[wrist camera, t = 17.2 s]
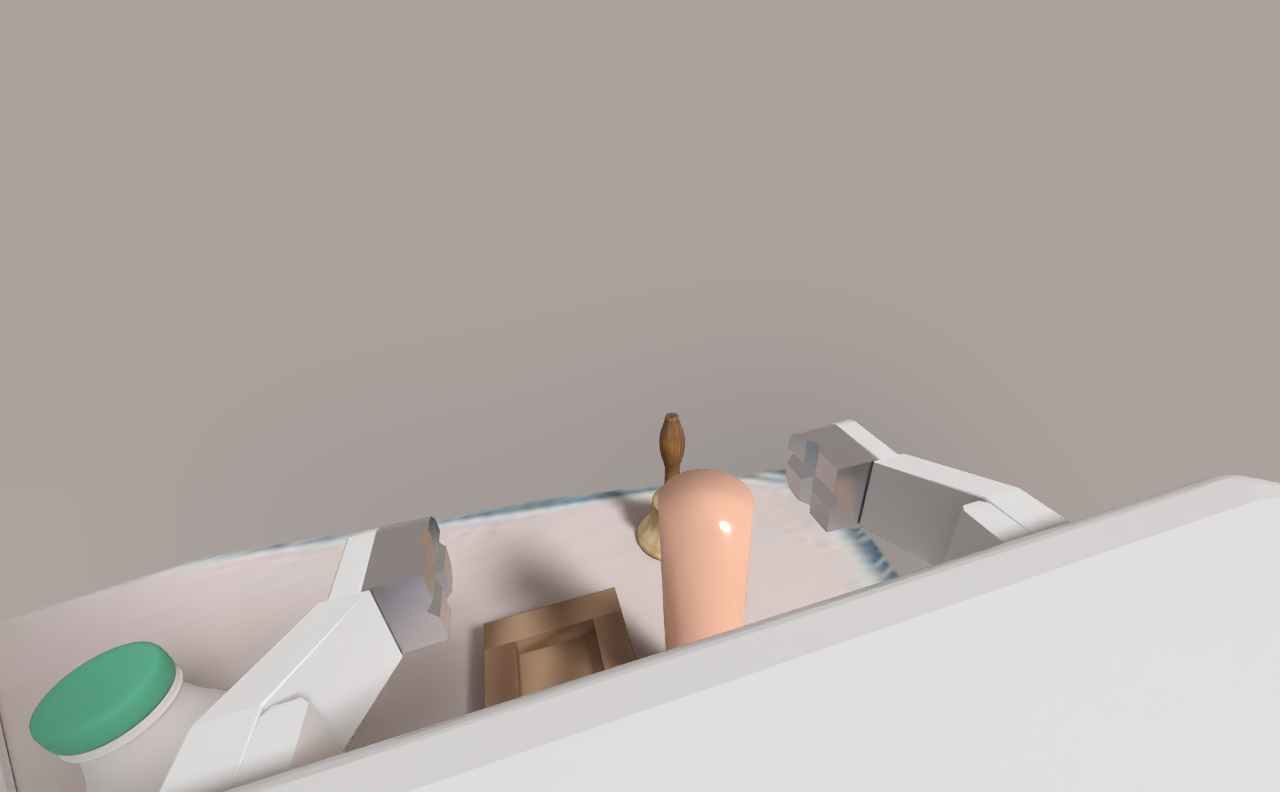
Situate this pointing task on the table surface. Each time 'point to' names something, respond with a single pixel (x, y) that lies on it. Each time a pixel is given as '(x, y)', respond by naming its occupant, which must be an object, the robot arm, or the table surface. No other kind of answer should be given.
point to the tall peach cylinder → (704, 554)
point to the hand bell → (672, 457)
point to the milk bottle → (122, 717)
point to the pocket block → (554, 646)
